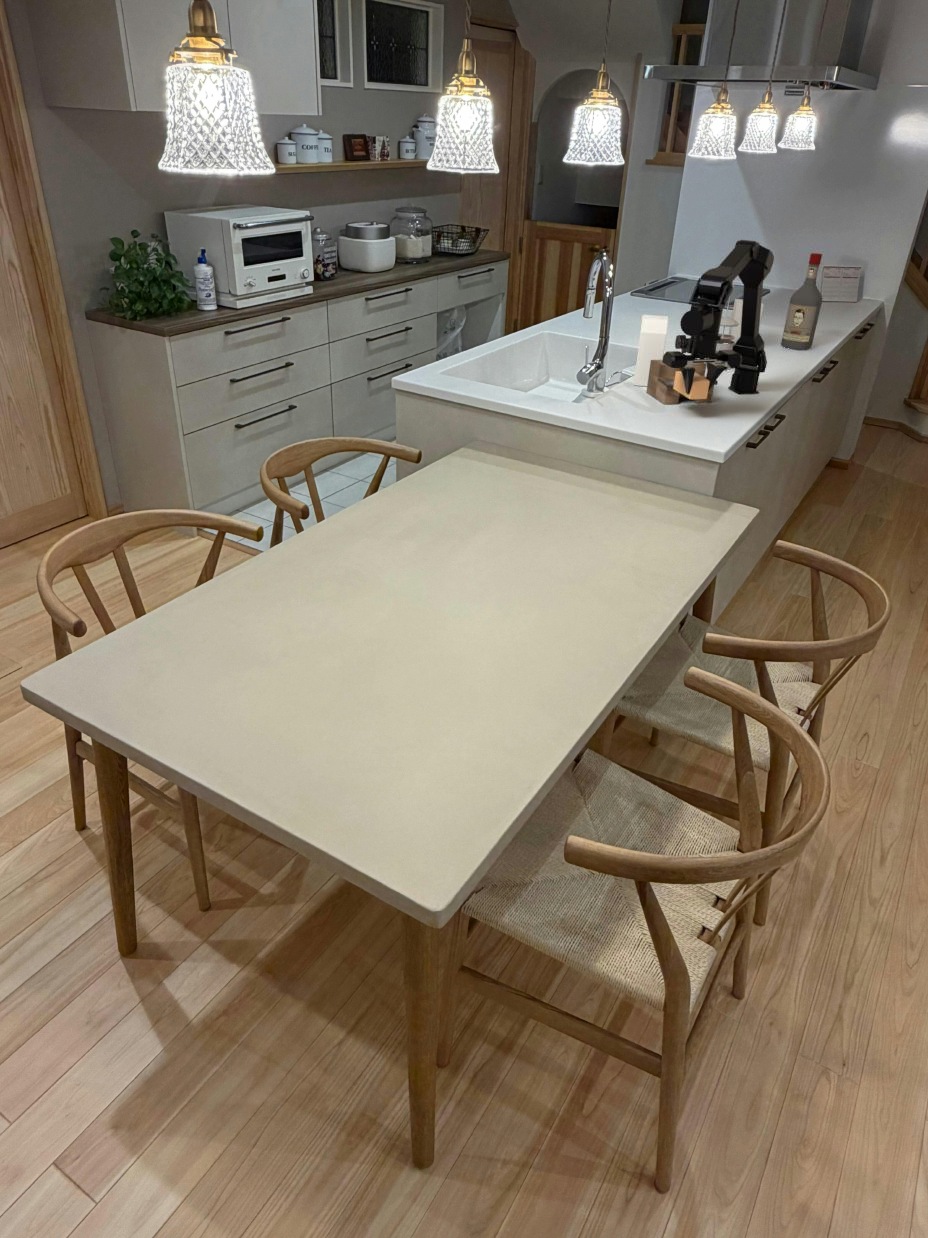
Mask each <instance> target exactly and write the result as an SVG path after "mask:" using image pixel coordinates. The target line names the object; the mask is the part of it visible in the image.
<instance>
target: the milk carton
mask: <svg viewBox="0 0 928 1238" xmlns="http://www.w3.org/2000/svg"><path fill="white" fill-rule="evenodd" d="M668 324H669V316H667V315H655V314H654V315H653V314H642V317H641V325H640V332H639V341H638V348H637V357H636V364H635V372H634V378H633V386H640V387H647V384H648V377H649V370H650V362H651V360H663V356H664V354H665V346H666V341H667V340H666V339H667V333H668Z"/></svg>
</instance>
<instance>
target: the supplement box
mask: <svg viewBox="0 0 928 1238" xmlns="http://www.w3.org/2000/svg"><path fill="white" fill-rule="evenodd" d="M742 305H743V298H741V299H740V298H735V299H734V303H733V308H732V314H731V318H732V319H734V320H735V321H737V322H738V323H739V325H738V326H735V327H729V329H728V335H732V336H734V337H735V338H734V339H732V341H734V342H735V343H736V342H737V340H738V339H739V338H740V334H741V320H742ZM764 306H765V305H764V303H763V301H761V313H760V323H761V321H762V315H763V312H764V311H763V310H764ZM760 325H761V324H760ZM760 325H759V328H760ZM728 344H729V343H728Z"/></svg>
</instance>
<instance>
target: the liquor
mask: <svg viewBox="0 0 928 1238" xmlns="http://www.w3.org/2000/svg"><path fill="white" fill-rule="evenodd" d="M822 257H823V253H816V252H812V253H810V257H809V261H808V267H807V272H806V275H805V280H804V281H803V285H801V286H800V287H799V288H798V289H797V290H796V291H795V292H794V293H792V295H791V297H790V299H789V305H788V308H787V313H786V319H785V323H784V326H783V332H782V338H781V342H780V345H781V347H782V346H783V347H782V348H784V347H785V348H784V349H788V348H789V350H795V351H796V350H797V351H807V350H809V349H811V347H812V346H813V343H814V342H813V341H814V339H815V334H816V330H817V325H818V321H819V316H820V312H821V308H822V302H823V295H822V293H821V292H820V290H819V288H818V287H817V278H818V277H817V276H818V272H819V267H820V265H821V261H822Z"/></svg>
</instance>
